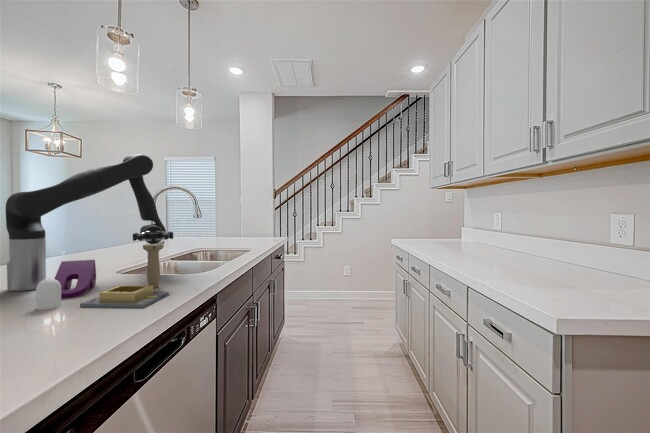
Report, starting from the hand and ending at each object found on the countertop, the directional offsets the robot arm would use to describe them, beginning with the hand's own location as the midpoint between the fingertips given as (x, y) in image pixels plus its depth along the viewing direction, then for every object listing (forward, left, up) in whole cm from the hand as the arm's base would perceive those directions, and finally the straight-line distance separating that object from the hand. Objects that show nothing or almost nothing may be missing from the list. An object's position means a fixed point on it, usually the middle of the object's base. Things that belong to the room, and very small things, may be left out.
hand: (153, 237), depth 122 cm
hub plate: (-7, -26, -17) cm, 32 cm away
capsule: (-26, -23, -17) cm, 39 cm away
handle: (0, -11, -17) cm, 20 cm away
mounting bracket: (-23, -6, -17) cm, 30 cm away
